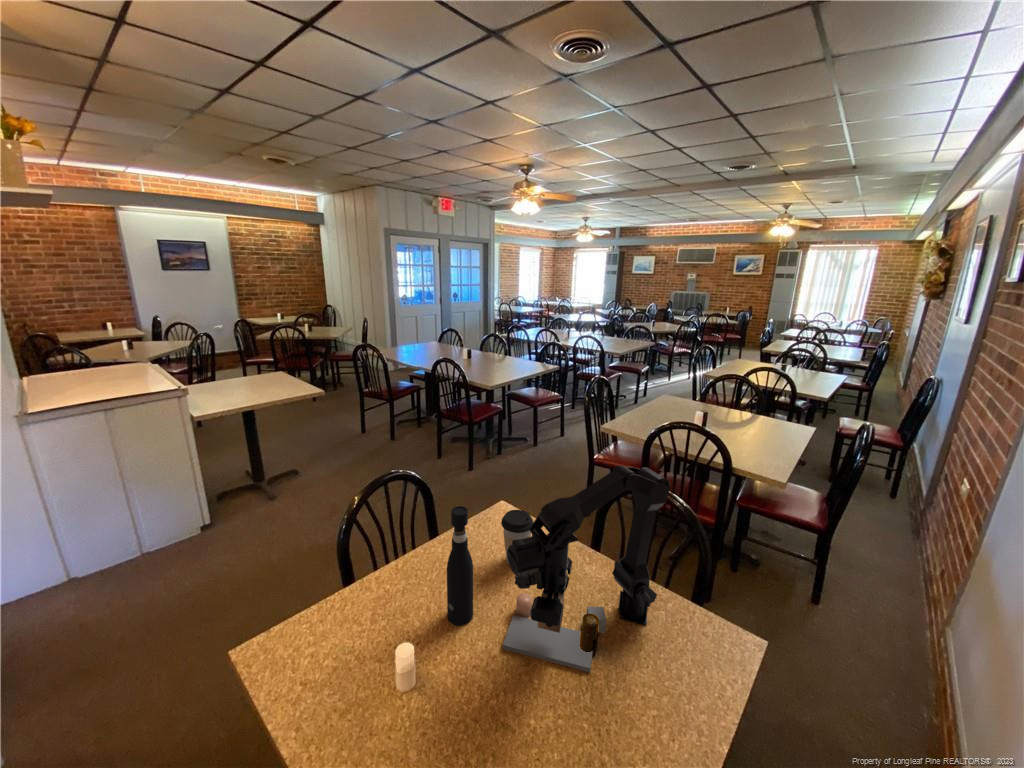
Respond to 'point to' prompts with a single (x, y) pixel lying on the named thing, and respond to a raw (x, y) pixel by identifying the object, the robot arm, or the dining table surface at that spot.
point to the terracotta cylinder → (524, 605)
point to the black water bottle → (459, 572)
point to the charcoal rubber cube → (600, 614)
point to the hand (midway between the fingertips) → (551, 617)
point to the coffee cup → (516, 526)
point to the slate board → (547, 644)
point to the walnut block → (557, 628)
